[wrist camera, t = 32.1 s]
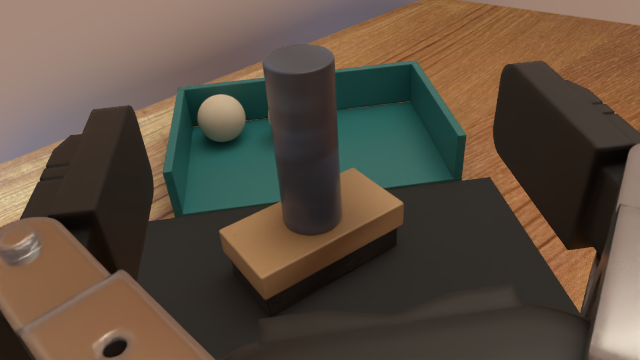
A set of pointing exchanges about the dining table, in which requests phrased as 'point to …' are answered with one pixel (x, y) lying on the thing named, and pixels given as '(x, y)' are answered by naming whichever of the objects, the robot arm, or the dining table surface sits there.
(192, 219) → the mat
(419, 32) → the dining table surface
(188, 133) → the dustpan
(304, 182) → the brush
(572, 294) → the dining table surface
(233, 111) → the beige ball
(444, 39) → the dining table surface
